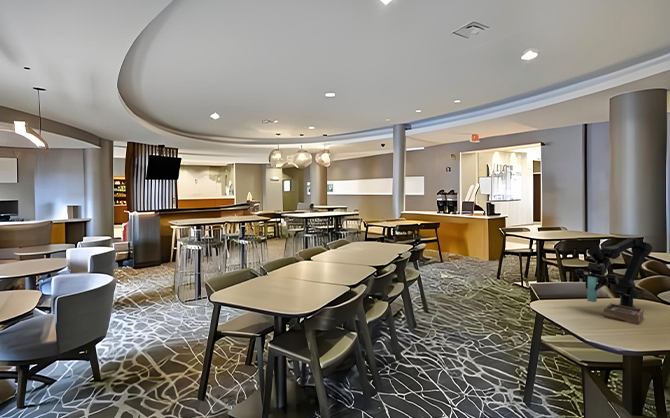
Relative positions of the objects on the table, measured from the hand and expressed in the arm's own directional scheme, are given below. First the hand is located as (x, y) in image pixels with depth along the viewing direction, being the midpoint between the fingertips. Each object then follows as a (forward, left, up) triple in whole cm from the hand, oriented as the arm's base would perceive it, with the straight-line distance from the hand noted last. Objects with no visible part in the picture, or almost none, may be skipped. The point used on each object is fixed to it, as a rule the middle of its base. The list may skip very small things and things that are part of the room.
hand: (590, 289), depth 186 cm
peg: (-1, 0, -7) cm, 7 cm away
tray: (-5, +13, -13) cm, 19 cm away
